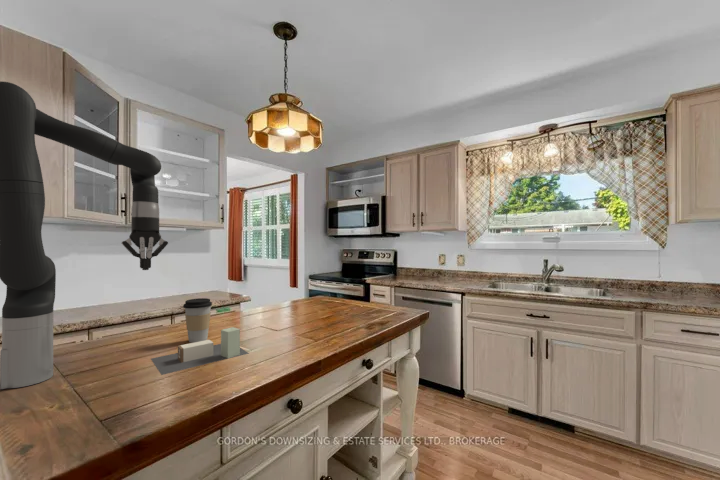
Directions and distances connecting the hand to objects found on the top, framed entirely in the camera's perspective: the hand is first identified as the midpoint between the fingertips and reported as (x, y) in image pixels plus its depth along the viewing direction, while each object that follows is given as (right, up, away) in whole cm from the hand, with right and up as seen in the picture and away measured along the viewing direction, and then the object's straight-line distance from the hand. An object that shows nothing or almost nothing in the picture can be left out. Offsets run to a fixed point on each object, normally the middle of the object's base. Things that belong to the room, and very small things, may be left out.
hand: (145, 269), depth 103 cm
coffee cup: (+11, -27, +11) cm, 32 cm away
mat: (+20, -27, -5) cm, 34 cm away
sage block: (+29, -26, -4) cm, 40 cm away
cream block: (+16, -24, -9) cm, 30 cm away
